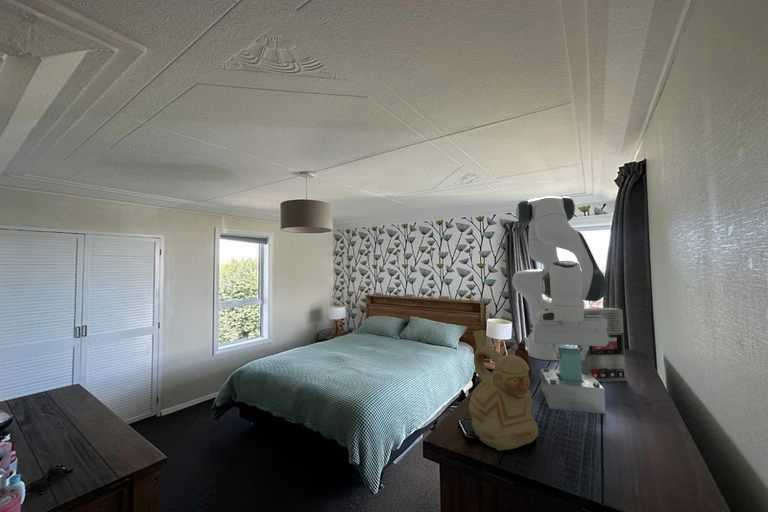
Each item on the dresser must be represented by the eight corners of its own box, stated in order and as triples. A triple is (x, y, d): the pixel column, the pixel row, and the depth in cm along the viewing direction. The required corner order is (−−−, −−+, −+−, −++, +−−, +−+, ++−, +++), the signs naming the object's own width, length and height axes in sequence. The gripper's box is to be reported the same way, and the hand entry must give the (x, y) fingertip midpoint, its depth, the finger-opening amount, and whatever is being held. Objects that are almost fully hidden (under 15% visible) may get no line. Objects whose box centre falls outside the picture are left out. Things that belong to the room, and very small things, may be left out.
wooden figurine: (533, 383, 111) (531, 340, 111) (516, 383, 112) (514, 340, 112) (528, 377, 117) (527, 336, 118) (512, 376, 118) (510, 336, 119)
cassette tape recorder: (588, 383, 110) (585, 311, 110) (578, 377, 116) (574, 308, 117) (628, 382, 110) (624, 309, 111) (615, 375, 116) (612, 307, 117)
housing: (541, 389, 105) (540, 366, 106) (589, 393, 101) (588, 370, 101) (549, 408, 92) (548, 382, 92) (605, 414, 88) (604, 386, 88)
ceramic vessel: (496, 467, 67) (492, 348, 67) (451, 423, 85) (448, 330, 86) (561, 451, 71) (556, 340, 72) (505, 413, 90) (501, 325, 91)
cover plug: (557, 385, 101) (556, 345, 101) (579, 387, 99) (577, 346, 99) (562, 393, 95) (560, 350, 95) (585, 395, 93) (583, 351, 93)
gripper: (603, 312, 97) (605, 357, 97) (530, 311, 103) (532, 354, 103) (610, 316, 91) (613, 364, 91) (533, 314, 97) (535, 359, 97)
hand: (569, 358), depth 97 cm, fingers closed on cover plug, 5 cm apart
